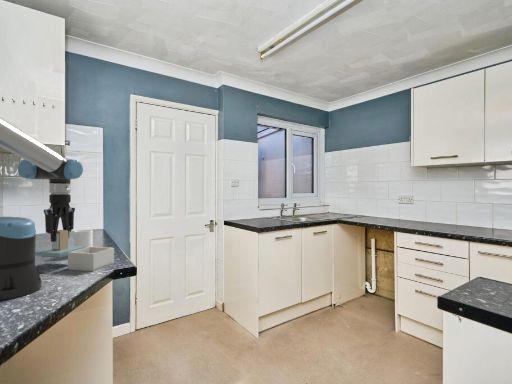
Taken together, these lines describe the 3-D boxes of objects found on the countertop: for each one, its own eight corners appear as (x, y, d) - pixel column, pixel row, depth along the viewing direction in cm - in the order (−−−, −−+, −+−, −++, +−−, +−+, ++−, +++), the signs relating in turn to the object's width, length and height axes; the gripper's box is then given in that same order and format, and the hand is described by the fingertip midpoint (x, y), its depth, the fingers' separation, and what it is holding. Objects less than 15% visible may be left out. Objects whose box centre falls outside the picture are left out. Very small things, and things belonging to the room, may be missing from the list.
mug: (64, 258, 132) (64, 232, 132) (65, 254, 139) (66, 230, 139) (93, 255, 138) (93, 231, 138) (93, 252, 145) (93, 229, 145)
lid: (59, 259, 112) (59, 233, 112) (33, 257, 115) (33, 232, 115) (85, 252, 125) (85, 229, 125) (60, 250, 128) (60, 228, 127)
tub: (93, 271, 111) (93, 253, 111) (67, 269, 113) (67, 252, 113) (114, 263, 123) (114, 247, 123) (90, 262, 125) (90, 246, 125)
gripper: (49, 194, 111) (49, 252, 111) (83, 193, 127) (83, 244, 128) (33, 194, 112) (33, 251, 112) (69, 193, 129) (69, 243, 129)
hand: (60, 247), depth 120 cm, fingers closed on lid, 4 cm apart
